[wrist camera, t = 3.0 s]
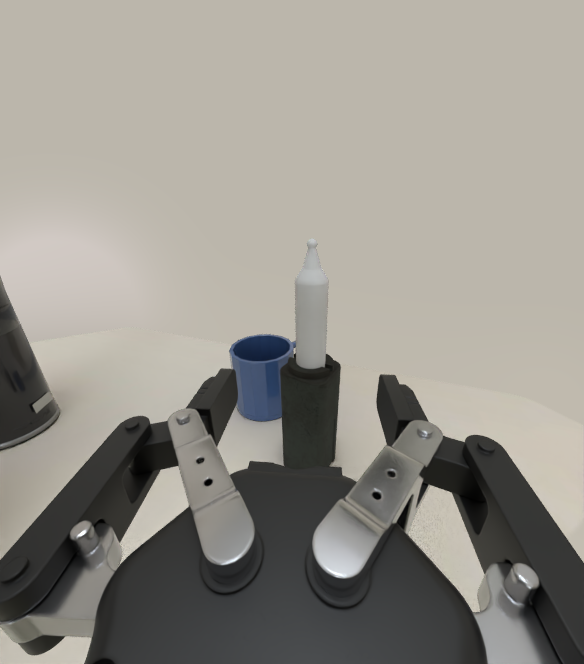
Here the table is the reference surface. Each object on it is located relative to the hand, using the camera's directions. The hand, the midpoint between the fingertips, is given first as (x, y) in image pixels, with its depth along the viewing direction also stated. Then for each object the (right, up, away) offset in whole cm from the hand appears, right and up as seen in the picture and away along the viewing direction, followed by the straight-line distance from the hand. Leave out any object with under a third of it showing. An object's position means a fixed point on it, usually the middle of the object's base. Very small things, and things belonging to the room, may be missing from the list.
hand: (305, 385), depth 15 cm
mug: (-4, -7, +29) cm, 30 cm away
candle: (+1, -12, +17) cm, 21 cm away
